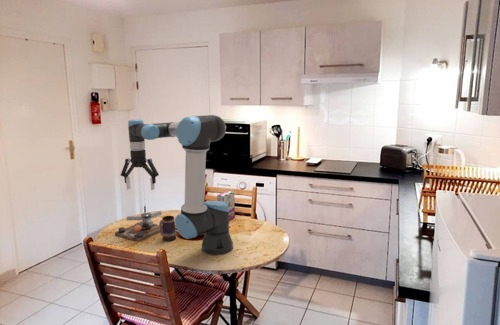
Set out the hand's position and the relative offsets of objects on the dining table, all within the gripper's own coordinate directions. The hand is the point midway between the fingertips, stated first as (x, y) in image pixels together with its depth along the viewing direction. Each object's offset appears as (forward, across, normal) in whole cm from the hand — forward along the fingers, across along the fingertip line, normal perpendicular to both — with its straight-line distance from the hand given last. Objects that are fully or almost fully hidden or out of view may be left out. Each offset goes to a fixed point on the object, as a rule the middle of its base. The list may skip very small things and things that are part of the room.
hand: (140, 189), depth 186 cm
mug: (+25, -16, +6) cm, 30 cm away
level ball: (+23, +2, +2) cm, 23 cm away
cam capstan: (+23, -1, -6) cm, 24 cm away
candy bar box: (+25, -40, -28) cm, 54 cm away
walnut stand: (+25, +3, -2) cm, 25 cm away
